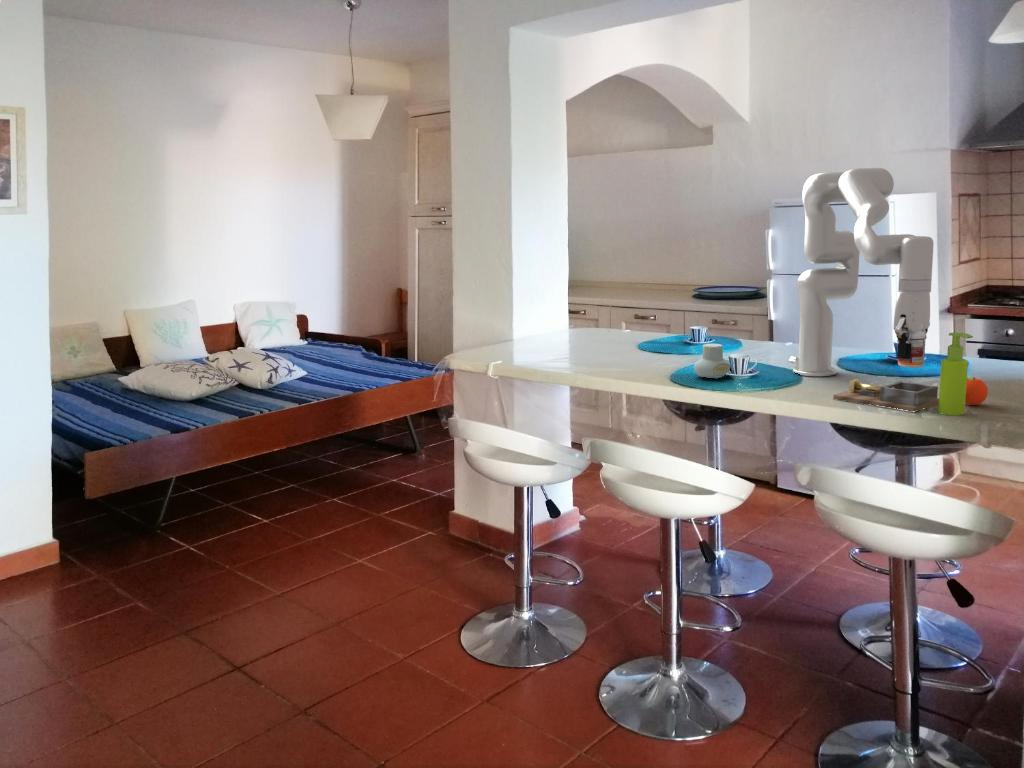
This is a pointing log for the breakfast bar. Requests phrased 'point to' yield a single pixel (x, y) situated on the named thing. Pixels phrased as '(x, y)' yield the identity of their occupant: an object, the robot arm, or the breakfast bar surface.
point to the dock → (895, 396)
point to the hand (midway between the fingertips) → (911, 356)
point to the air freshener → (712, 362)
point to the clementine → (975, 391)
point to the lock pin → (863, 386)
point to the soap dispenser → (953, 378)
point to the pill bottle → (915, 350)
